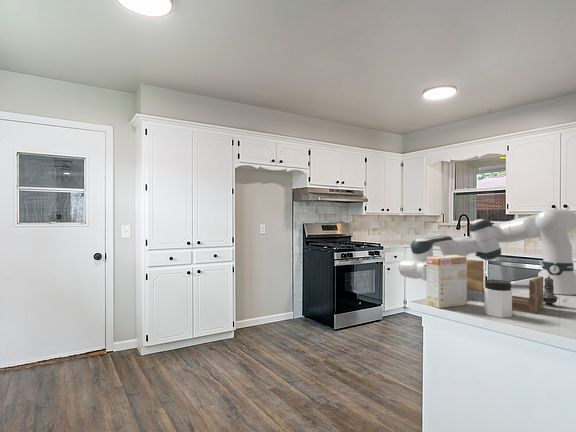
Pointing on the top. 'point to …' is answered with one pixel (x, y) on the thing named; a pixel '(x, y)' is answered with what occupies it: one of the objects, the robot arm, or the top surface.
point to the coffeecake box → (446, 281)
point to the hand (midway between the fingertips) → (461, 275)
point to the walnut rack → (531, 297)
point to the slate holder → (475, 296)
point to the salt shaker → (549, 293)
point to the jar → (498, 298)
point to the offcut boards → (520, 300)
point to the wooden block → (475, 276)
